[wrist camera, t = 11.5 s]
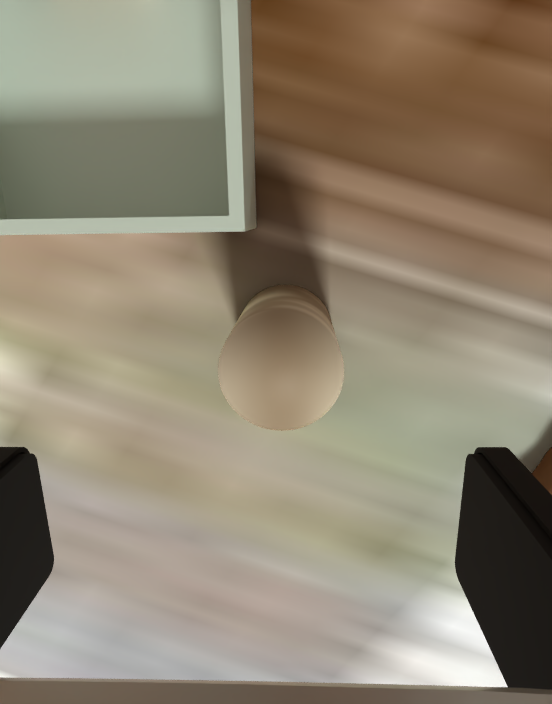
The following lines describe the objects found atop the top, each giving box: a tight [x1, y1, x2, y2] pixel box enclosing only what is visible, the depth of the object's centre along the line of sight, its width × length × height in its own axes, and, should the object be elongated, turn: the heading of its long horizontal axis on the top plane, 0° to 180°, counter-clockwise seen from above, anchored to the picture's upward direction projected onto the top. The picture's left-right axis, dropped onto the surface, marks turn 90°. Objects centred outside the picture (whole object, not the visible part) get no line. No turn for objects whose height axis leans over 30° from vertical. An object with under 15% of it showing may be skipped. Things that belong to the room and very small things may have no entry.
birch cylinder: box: [218, 285, 344, 431], centre depth 22 cm, size 5×5×7 cm
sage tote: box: [0, 0, 257, 235], centre depth 19 cm, size 13×17×6 cm
